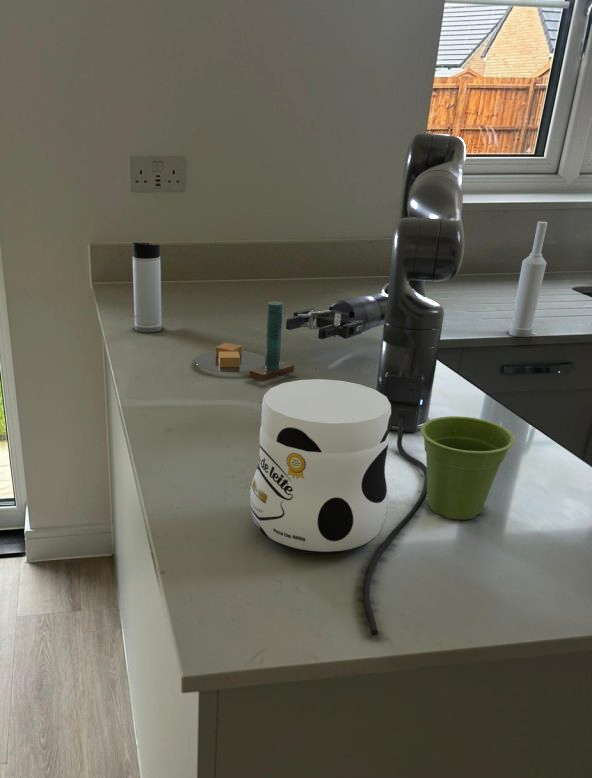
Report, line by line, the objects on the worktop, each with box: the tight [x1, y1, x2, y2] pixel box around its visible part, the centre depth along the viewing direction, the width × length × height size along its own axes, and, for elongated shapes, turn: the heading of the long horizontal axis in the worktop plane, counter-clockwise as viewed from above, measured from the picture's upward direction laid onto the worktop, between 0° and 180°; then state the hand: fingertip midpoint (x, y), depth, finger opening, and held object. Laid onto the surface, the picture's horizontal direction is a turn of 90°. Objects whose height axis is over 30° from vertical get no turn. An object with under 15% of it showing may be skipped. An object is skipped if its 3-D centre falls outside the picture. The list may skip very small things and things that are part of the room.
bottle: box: [508, 221, 548, 338], centre depth 178 cm, size 5×5×25 cm
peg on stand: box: [249, 301, 295, 382], centre depth 150 cm, size 9×4×15 cm, turn 133°
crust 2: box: [219, 352, 240, 367], centre depth 158 cm, size 4×4×2 cm
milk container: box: [249, 378, 391, 555], centre depth 98 cm, size 17×17×18 cm
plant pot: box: [420, 415, 516, 521], centre depth 105 cm, size 12×12×11 cm
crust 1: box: [215, 342, 243, 357], centre depth 163 cm, size 4×4×2 cm
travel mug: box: [132, 241, 163, 334], centre depth 180 cm, size 6×7×20 cm
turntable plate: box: [194, 349, 266, 373], centre depth 161 cm, size 15×15×1 cm
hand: (303, 329), depth 155 cm, fingers open, 8 cm apart
